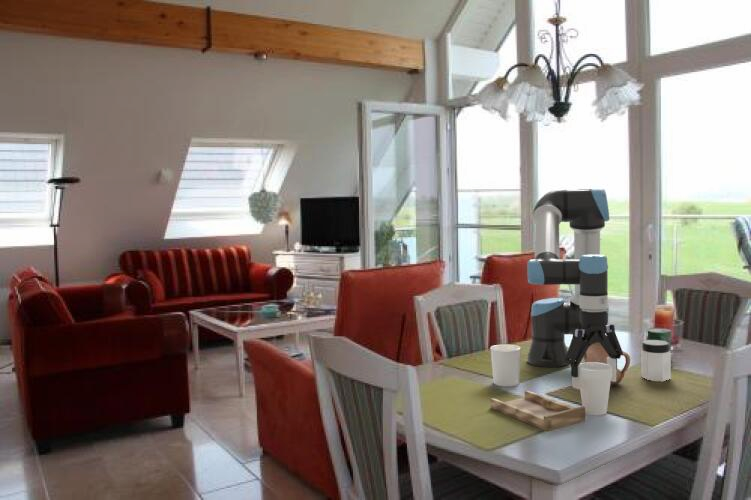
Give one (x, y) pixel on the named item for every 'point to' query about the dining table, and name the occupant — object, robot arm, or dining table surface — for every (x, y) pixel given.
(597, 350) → the ceramic jug
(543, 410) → the track
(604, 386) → the foam cup
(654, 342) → the jar
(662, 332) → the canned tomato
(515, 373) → the candle holder
